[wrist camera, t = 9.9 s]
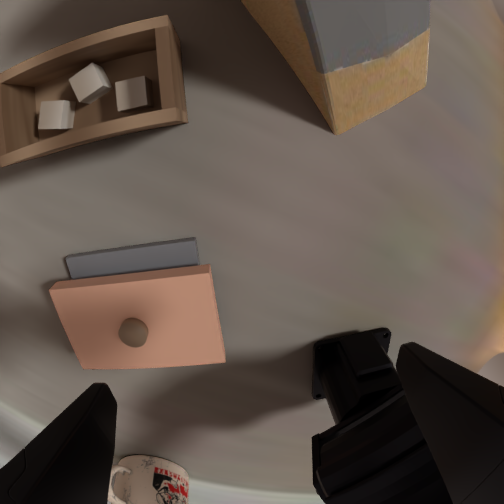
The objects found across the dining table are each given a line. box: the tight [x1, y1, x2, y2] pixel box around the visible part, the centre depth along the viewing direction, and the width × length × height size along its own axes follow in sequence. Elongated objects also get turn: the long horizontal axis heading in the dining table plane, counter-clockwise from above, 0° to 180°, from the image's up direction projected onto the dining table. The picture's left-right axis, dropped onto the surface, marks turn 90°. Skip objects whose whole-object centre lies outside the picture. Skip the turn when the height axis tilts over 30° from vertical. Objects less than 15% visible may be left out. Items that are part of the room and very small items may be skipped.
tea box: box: [0, 15, 188, 167], centre depth 13 cm, size 10×5×4 cm, turn 95°
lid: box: [49, 264, 225, 369], centre depth 19 cm, size 11×7×3 cm, turn 95°
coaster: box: [65, 237, 200, 280], centre depth 20 cm, size 9×9×1 cm
